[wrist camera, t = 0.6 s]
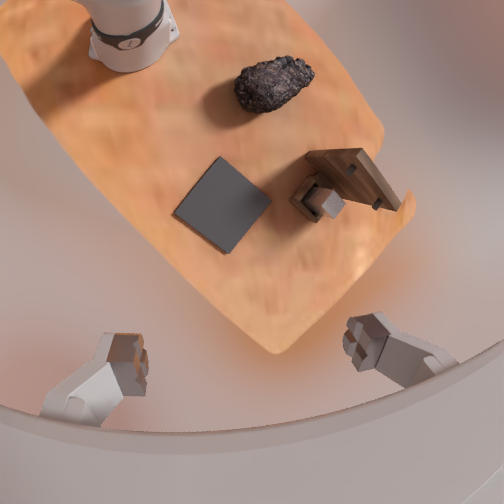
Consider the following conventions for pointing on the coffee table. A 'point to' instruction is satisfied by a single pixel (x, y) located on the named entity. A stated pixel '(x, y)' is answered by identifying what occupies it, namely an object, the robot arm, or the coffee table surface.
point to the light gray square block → (323, 202)
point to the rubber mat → (223, 205)
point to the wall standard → (346, 180)
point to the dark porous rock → (271, 83)
